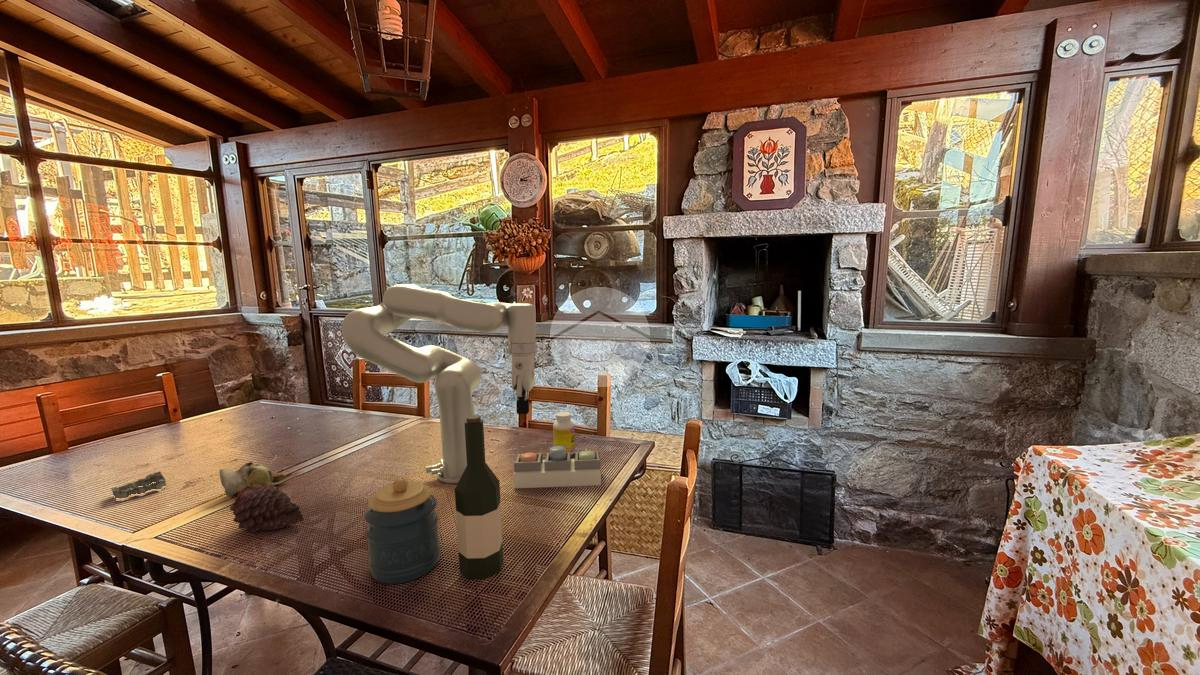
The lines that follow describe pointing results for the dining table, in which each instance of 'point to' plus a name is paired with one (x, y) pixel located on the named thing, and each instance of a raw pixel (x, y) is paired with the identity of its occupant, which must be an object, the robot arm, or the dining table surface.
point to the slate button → (557, 453)
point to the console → (557, 472)
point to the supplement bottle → (564, 432)
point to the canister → (402, 532)
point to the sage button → (586, 455)
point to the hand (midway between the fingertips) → (522, 412)
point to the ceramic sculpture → (249, 478)
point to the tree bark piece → (133, 487)
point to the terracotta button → (528, 457)
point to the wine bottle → (478, 509)
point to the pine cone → (264, 509)
